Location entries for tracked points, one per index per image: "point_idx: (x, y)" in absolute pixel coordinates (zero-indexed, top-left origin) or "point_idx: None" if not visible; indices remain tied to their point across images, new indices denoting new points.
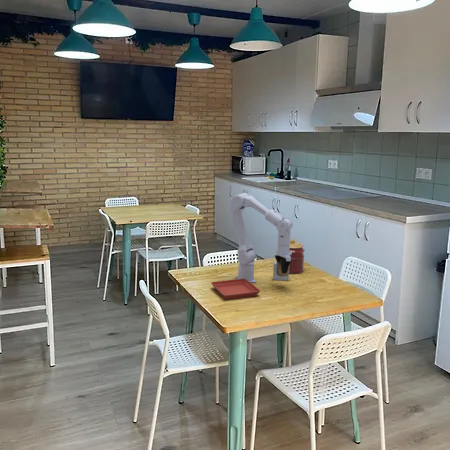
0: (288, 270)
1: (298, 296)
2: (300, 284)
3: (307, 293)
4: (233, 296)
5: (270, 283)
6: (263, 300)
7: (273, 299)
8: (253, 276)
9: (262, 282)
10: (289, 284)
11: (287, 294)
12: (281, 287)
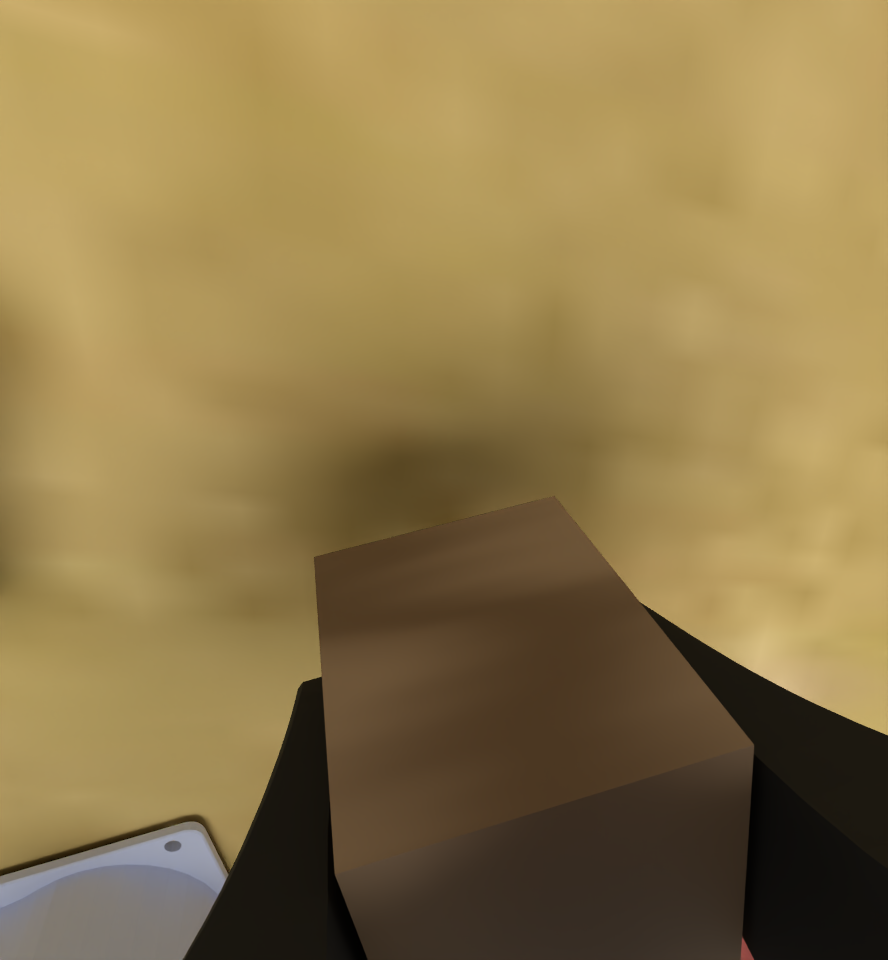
0: (618, 582)
1: (832, 270)
2: (191, 49)
3: (747, 49)
4: (749, 952)
5: (211, 639)
6: (828, 706)
7: (833, 613)
8: (134, 926)
9: (176, 743)
10: (224, 321)
11: (718, 430)
12: (406, 487)
